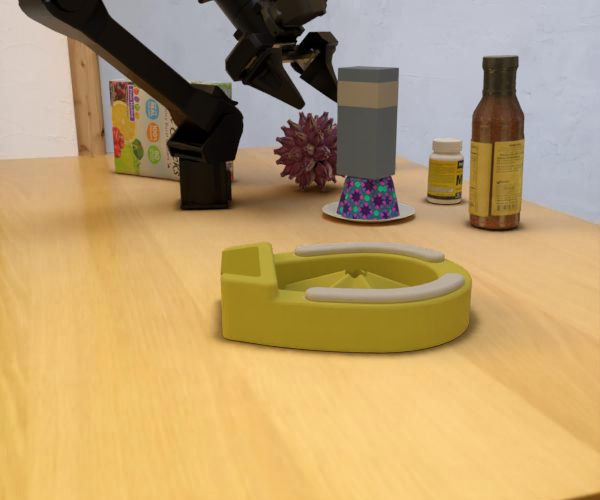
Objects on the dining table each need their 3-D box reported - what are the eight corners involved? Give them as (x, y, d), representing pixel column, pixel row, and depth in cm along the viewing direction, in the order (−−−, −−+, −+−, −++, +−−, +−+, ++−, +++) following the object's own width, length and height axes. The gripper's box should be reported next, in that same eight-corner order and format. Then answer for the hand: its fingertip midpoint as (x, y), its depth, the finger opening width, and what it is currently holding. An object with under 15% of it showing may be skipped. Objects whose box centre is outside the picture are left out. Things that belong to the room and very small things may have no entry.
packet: (336, 174, 100) (337, 67, 96) (356, 169, 104) (358, 66, 99) (376, 180, 97) (379, 69, 92) (395, 174, 100) (399, 67, 96)
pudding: (352, 230, 95) (353, 187, 93) (305, 210, 105) (305, 171, 103) (434, 219, 100) (436, 178, 98) (382, 201, 110) (383, 163, 108)
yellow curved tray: (224, 287, 75) (223, 236, 73) (442, 282, 76) (445, 231, 74) (221, 357, 59) (219, 294, 57) (494, 349, 60) (499, 286, 59)
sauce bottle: (523, 222, 98) (539, 54, 92) (514, 233, 93) (530, 56, 87) (471, 216, 101) (482, 53, 94) (459, 228, 96) (470, 55, 89)
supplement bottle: (460, 205, 107) (465, 142, 105) (425, 203, 108) (428, 141, 105) (461, 198, 112) (465, 137, 109) (427, 196, 113) (430, 136, 110)
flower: (272, 194, 122) (343, 173, 125) (296, 207, 111) (373, 184, 114) (255, 119, 118) (328, 100, 121) (278, 125, 107) (358, 103, 110)
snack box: (236, 180, 124) (233, 81, 119) (214, 186, 120) (210, 83, 115) (136, 168, 135) (130, 76, 130) (112, 173, 131) (105, 78, 126)
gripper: (241, -41, 91) (321, 62, 89) (326, -33, 106) (397, 55, 104) (192, 31, 98) (266, 128, 96) (278, 29, 113) (344, 113, 111)
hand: (322, 104), depth 101 cm, fingers open, 9 cm apart
